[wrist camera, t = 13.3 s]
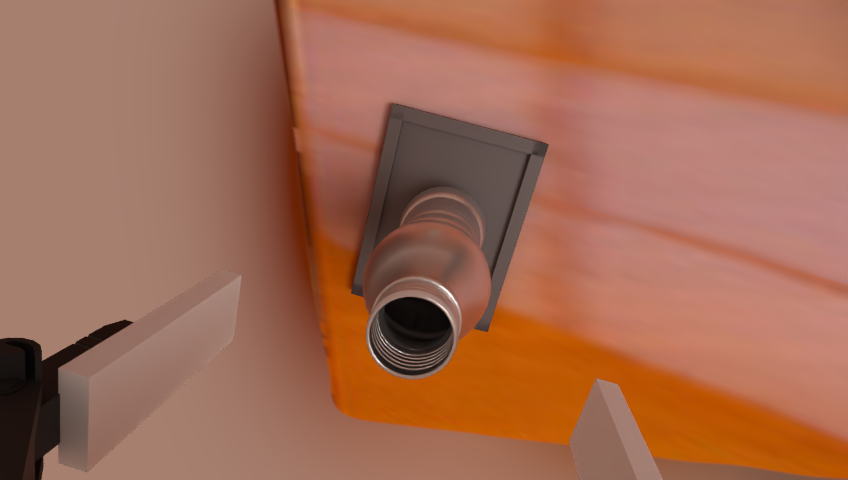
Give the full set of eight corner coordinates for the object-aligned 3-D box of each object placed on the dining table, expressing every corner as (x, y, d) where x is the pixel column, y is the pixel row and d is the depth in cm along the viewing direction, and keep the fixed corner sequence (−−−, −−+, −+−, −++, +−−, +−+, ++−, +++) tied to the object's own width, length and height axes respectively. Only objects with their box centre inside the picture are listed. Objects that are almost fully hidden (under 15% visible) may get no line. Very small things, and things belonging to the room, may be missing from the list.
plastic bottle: (390, 238, 37) (301, 365, 18) (429, 166, 35) (375, 222, 16) (458, 275, 38) (441, 440, 18) (500, 205, 36) (531, 307, 16)
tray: (395, 103, 35) (392, 103, 34) (546, 143, 35) (548, 144, 33) (354, 288, 40) (351, 293, 39) (487, 325, 39) (487, 332, 38)
